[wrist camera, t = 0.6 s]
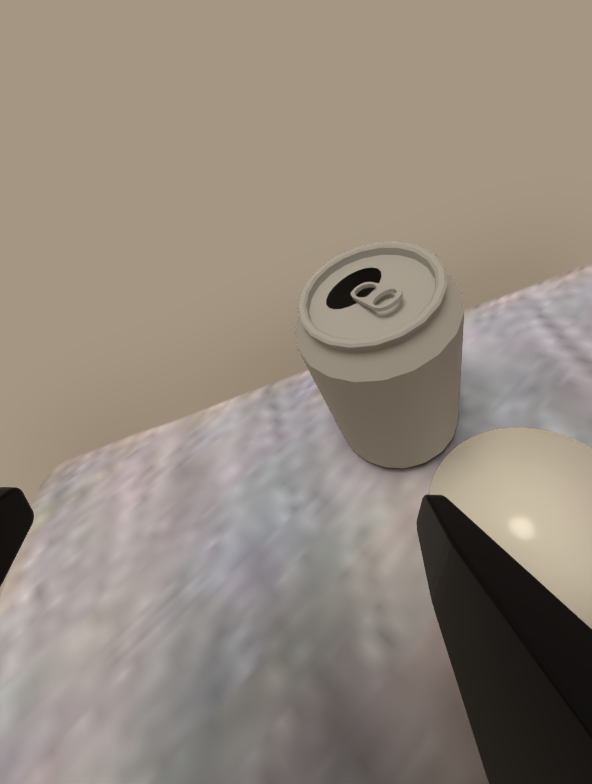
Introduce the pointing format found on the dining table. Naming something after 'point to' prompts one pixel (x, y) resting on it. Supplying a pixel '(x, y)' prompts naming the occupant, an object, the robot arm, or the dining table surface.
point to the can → (386, 349)
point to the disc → (529, 504)
